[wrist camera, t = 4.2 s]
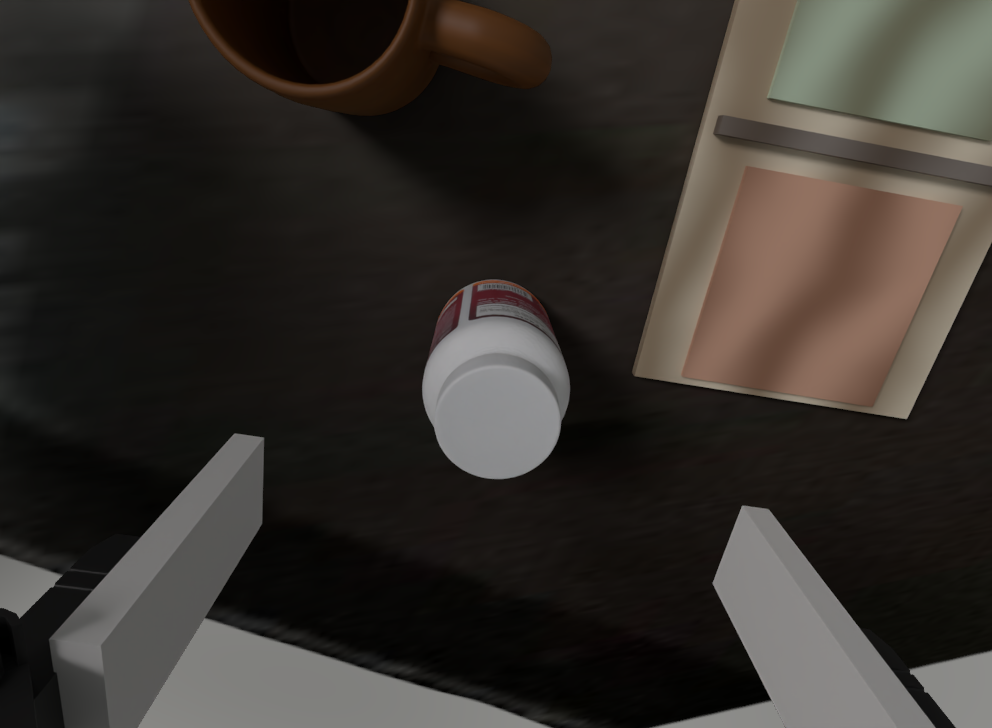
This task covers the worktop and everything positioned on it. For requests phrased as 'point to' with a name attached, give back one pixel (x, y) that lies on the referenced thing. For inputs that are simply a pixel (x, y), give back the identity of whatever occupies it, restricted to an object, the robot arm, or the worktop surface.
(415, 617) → the worktop surface
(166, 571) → the robot arm
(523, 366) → the pill bottle
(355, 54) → the mug
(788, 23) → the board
